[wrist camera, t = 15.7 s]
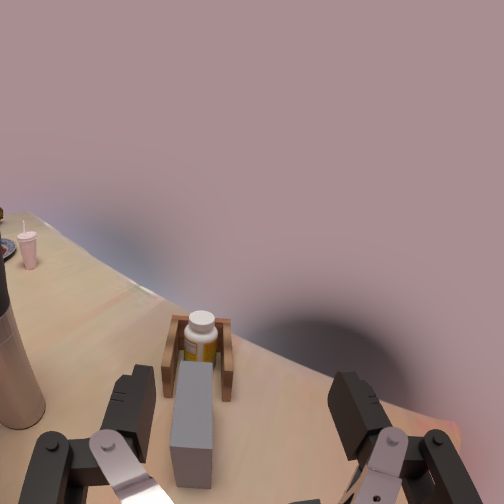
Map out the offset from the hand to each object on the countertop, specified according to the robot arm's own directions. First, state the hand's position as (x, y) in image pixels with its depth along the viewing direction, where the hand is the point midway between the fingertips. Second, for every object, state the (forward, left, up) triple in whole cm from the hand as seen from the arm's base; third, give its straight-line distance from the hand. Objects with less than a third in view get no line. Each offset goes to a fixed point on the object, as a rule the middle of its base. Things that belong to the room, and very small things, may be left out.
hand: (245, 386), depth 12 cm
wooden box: (-3, +29, -26) cm, 39 cm away
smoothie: (-55, +61, -26) cm, 86 cm away
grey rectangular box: (-3, +13, -26) cm, 29 cm away
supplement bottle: (-3, +31, -26) cm, 40 cm away
